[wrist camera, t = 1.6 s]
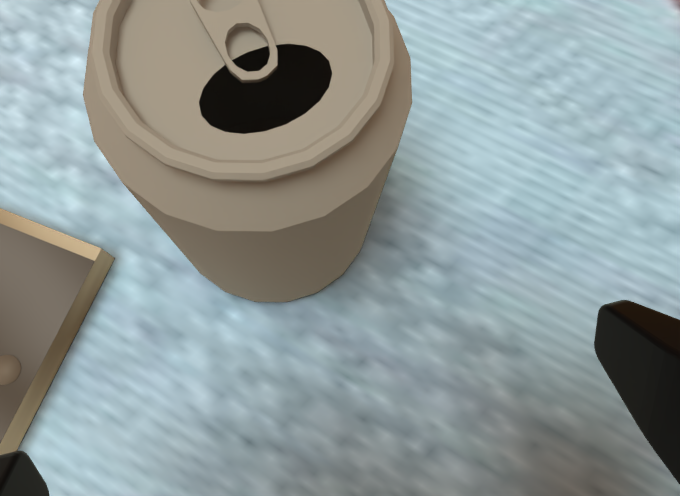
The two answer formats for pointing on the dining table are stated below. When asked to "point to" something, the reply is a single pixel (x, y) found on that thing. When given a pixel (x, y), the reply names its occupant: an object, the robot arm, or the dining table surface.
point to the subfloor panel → (39, 313)
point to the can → (252, 129)
